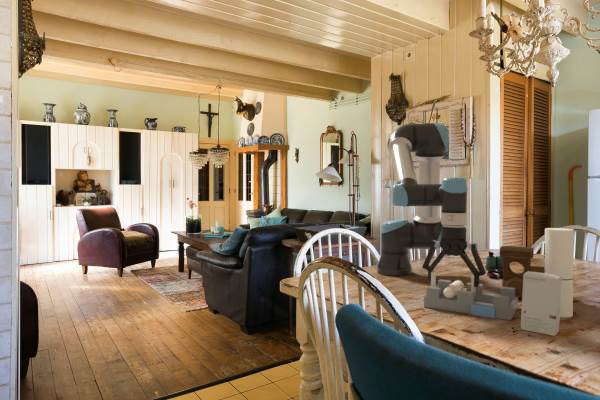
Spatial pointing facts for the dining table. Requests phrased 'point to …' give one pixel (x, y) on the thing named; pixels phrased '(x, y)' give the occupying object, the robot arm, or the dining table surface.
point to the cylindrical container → (561, 264)
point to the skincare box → (541, 303)
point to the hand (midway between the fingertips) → (452, 294)
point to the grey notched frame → (473, 301)
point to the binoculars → (494, 266)
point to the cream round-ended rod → (453, 289)
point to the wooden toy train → (520, 256)
